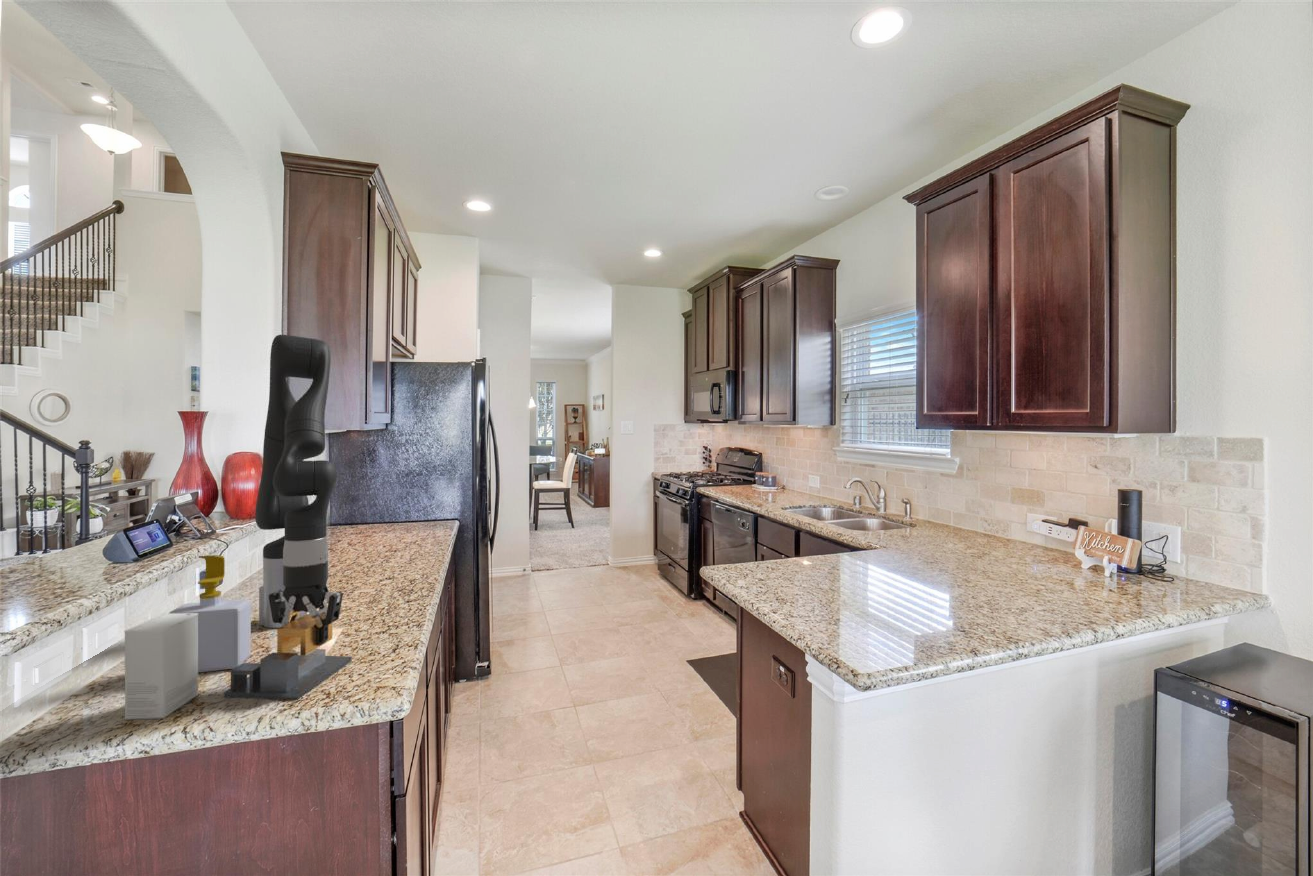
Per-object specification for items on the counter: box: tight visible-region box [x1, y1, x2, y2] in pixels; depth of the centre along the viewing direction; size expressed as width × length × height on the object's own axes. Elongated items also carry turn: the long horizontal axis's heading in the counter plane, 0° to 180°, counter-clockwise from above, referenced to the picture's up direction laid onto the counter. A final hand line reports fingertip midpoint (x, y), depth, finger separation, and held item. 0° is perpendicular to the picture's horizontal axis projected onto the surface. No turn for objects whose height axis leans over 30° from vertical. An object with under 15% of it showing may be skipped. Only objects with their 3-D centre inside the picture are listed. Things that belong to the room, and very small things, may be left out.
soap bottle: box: [167, 554, 252, 673], centre depth 110 cm, size 12×7×23 cm, turn 108°
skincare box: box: [124, 613, 199, 720], centre depth 94 cm, size 8×7×16 cm
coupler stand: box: [223, 648, 352, 700], centre depth 105 cm, size 14×16×7 cm
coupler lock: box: [276, 613, 333, 655], centre depth 106 cm, size 6×8×5 cm
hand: (306, 643), depth 106 cm, fingers closed on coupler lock, 5 cm apart
